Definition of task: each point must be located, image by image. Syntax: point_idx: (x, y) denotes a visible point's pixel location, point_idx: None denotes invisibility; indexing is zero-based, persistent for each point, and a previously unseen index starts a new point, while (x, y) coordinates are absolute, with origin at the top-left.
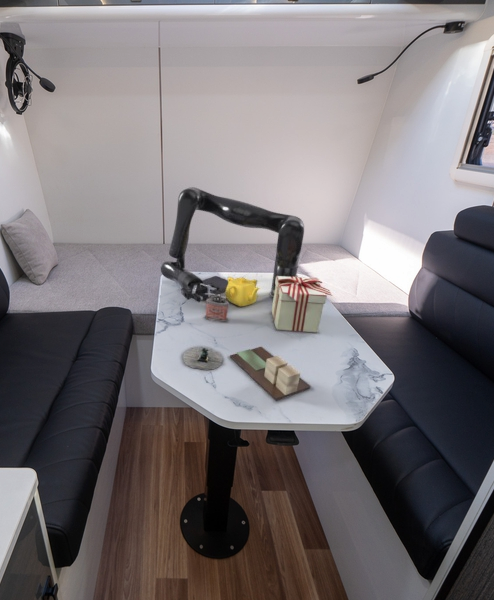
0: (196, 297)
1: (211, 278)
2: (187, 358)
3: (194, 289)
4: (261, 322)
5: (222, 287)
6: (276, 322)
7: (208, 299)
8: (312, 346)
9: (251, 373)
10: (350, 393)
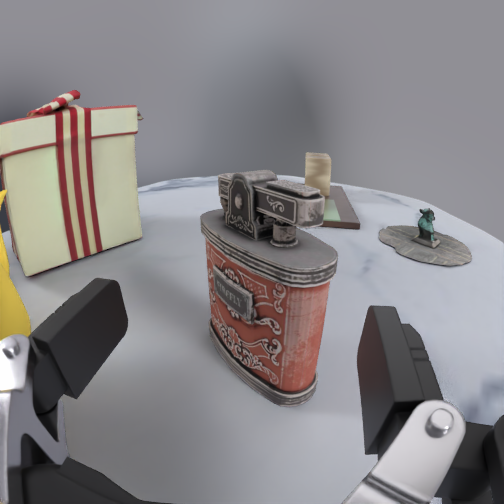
0: (414, 335)
1: None
2: (461, 252)
3: (389, 500)
4: (121, 267)
5: None
6: (125, 226)
7: (310, 258)
8: (161, 206)
9: (346, 201)
10: None
